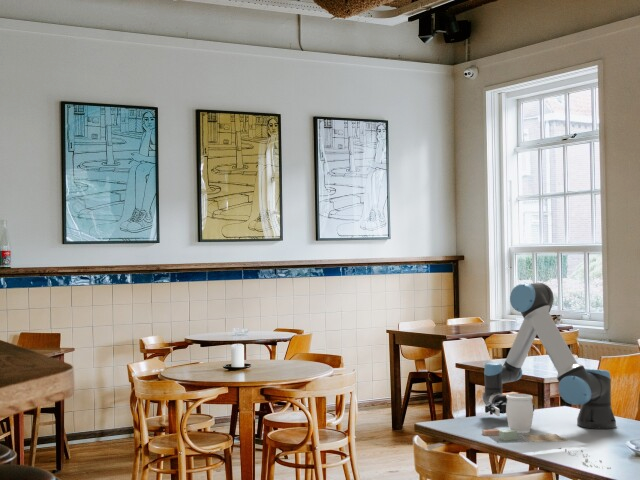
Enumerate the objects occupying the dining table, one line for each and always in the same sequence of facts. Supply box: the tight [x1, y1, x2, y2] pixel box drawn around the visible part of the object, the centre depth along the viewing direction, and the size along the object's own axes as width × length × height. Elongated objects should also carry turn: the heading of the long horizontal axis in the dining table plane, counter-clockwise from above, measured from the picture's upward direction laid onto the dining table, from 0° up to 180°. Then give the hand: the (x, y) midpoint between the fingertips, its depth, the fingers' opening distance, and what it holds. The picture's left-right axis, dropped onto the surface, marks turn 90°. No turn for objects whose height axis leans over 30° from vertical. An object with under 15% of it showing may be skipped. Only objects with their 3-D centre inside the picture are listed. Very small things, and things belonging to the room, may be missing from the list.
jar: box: [505, 393, 534, 434], centre depth 321 cm, size 11×10×15 cm
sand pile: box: [522, 433, 568, 443], centre depth 307 cm, size 13×12×1 cm
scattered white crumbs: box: [564, 448, 612, 470], centre depth 277 cm, size 7×25×2 cm, turn 1°
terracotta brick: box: [481, 428, 501, 437], centre depth 314 cm, size 6×3×3 cm, turn 99°
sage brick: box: [498, 429, 518, 440], centre depth 306 cm, size 6×3×3 cm, turn 114°
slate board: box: [488, 434, 530, 444], centre depth 306 cm, size 12×12×1 cm
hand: (515, 412), depth 324 cm, fingers open, 13 cm apart
